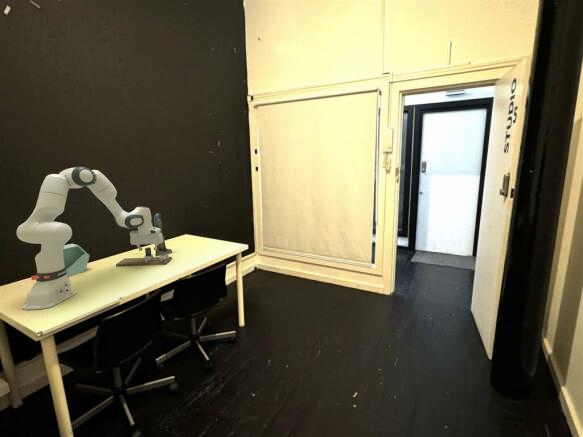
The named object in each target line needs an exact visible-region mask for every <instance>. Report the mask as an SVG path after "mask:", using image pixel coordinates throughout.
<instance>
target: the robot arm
mask: <svg viewBox="0 0 583 437" xmlns="http://www.w3.org/2000/svg"><path fill="white" fill-rule="evenodd" d="M85 187H87V188H88V189H89V190H90V191H91V192H92V193H93V195H95V197H96V198H97V199H99V201H101V202H102V204H103V205H105V207H106V209H108V211H109V212H110V213H111V214H112V216H113V219H114V221H115V224H116V225H117V226H118V227H120V228H126V229H129V230H130V229H131V231H130V232H129V237H130V244H131V246H133V245H134V246H135V245H136V247H137V248H138V250H139V252H142V251H143V247H141V245H154V247H153V251H155V250H157V246H158V244H161V243H162V242H163V236H164V235H163V236H162V234H163V232H162V233H161V232H160V231H161V230H160V228H156V227H155V226H153V222H152V213H151V210H150V208H149V207H147V206H142V205H141V206H140V205H139V206H136V207H135V208H134V209H133V210H132V211H130V212H127V211H125V210H124V209H123V208H122V207H121V205H120V204H119V203H118V202H117V200H116V197H117V194H118V192H117V189H116V187H115V186H114V185H113V183H112V182H111V181H110V180H109V179H108V177H106V175H104V174H103V173H102V172H101V171H100V170H97V169H92V170H91V169H90V168H88V167H85V166H75V167H71V168H66V169H62V170H61V171H59V172H58V173H51V174H48V175H46V176H45V178H44V180H43V182H42V184H41V186H40V189H39V193H38V198H37V201H36V204H35V208H34V209H33V212H32V213H31V215H30V216H29V217H28V218H27V219H26V221H25V222H23V223H21V224H20V225H18V227H17V229H16V236H17V238H18V239H19V240H20V241H21V242H25V243H29V244H37V245H38V244H40V245H41V247H40V251H39V253H37V254H36V255H35V257H34V261H35V265H36V270H37V271H36V274H35V275H32V276H31V278H30V279H31V280H32V281H35V283H34V284H33V285H32V287H31V289H30V290H29V291H28V293H27V296H26V299H27V302H26V303H24V304H23V305H22V306H21V309H22V310H26V311H27V310H28V311H32V310H33V311H34V310H43V309H49V308H52V307H54V306H57V305H58V304H60V303H63V302H64V301H65V300H68V299H69V298H71V297H73V296H75V295H76V294H77V292H76V291H74V288H73V285H72V282H71V279H70V277H69V276H67V269H66V267H65V264H64V257H63V250H64V246H65V245H67V242H68V241H69V240H71V239H72V236H73V230H72V227H71V226H70V225H69V224H67V223H63V222H61V221H60V222H59V221H55V219H56V218H57V217H58V216H60V215H62V214H63V212H64V211H65V206H66V202H67V198H68V192H69V190H71V189H81V188H85ZM136 228H137V230H133V229H136ZM155 245H156V246H155Z"/></svg>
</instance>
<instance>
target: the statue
mask: <svg viewBox="0 0 583 437" xmlns="http://www.w3.org/2000/svg"><path fill="white" fill-rule="evenodd" d="M161 216H162V213H155V214H154V215H153V223H154V224H153V225H154V227H156V228H160V230H161V231H160V232H161V233H162V236H163V242H162V243H161V244H158V246H157V250H154V251H155V253H154V254H155V256H156V257H159V256H160V255H162V253H165V254H168V255H169V254H172V253H173V251H172V249H171V248H167V246H166V241H165V235H164V234H163V222H162V219H161ZM155 246H156V245H155V244H154V247H155Z"/></svg>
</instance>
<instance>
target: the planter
mask: <svg viewBox="0 0 583 437" xmlns="http://www.w3.org/2000/svg"><path fill="white" fill-rule="evenodd" d="M63 257H64V264H65V267H66V269H67V276H68V277H71V276H74V275H77V274H81V273H84V272H86V270H87V266H88V263H89V259H90V254H89V253H87V251H85V249H83V248H82V247H81V246H80V245H79V244H74V243H70V244H65V246H64V250H63Z"/></svg>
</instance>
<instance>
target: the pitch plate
mask: <svg viewBox="0 0 583 437" xmlns="http://www.w3.org/2000/svg"><path fill="white" fill-rule="evenodd" d="M172 259H173V257H172V256H169V254H165V253H162V255H158V256H156V257H155V256H153V259H152V260H151V261H147V262H145V260H144V257H129V258H125V257H124V258H123V259H121V260H120V261H119V262H117V263H115V267H117V268H118V267H120V268H121V267H137V266H138V267H139V266H140V267H141V266H142V267H143V266H164V265H168V263H169V262H170V261H171V260H172Z"/></svg>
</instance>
